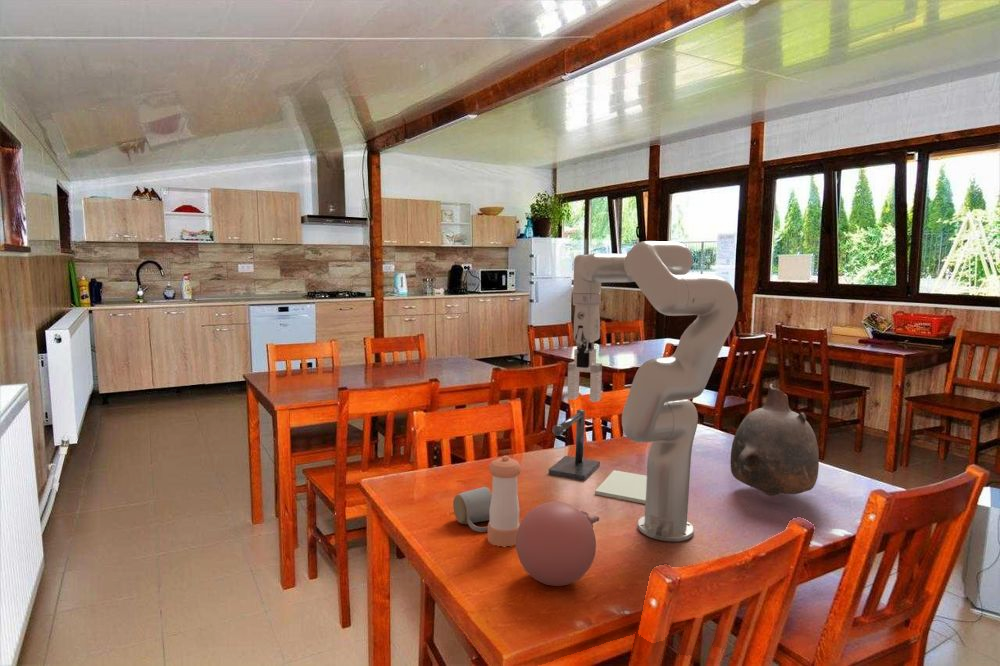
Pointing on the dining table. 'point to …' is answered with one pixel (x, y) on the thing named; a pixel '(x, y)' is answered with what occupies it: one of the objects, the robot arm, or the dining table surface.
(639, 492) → the mat
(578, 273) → the robot arm
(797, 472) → the jug
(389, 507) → the dining table surface
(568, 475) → the stand
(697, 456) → the dining table surface
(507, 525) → the salt shaker
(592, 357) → the stepped metal block
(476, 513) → the ceramic mug
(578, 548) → the balloon
